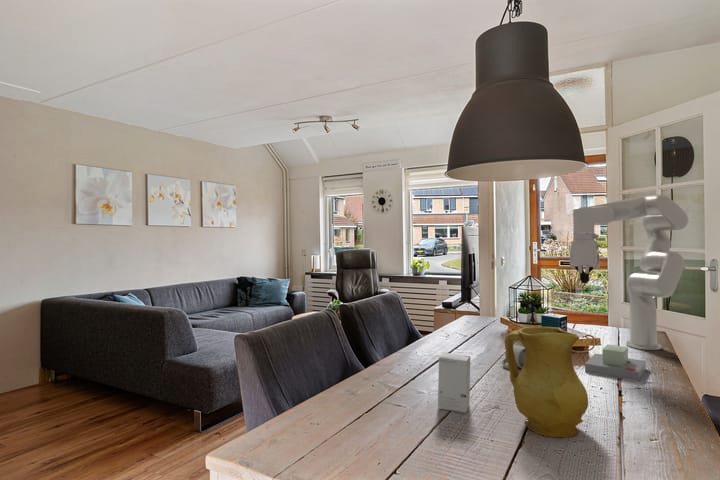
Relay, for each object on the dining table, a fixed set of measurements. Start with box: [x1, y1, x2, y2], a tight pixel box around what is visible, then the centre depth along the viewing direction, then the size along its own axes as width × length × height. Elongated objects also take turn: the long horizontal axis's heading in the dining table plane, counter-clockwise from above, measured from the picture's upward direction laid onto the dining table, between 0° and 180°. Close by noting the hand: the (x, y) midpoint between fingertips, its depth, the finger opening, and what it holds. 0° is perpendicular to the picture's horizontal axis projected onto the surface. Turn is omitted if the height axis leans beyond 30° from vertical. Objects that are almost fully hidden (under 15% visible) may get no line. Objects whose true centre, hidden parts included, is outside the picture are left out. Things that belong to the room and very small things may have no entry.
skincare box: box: [437, 352, 471, 414], centre depth 120 cm, size 8×6×15 cm
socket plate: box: [584, 353, 647, 382], centre depth 149 cm, size 16×16×4 cm
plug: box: [602, 344, 629, 367], centre depth 149 cm, size 8×7×8 cm
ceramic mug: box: [501, 344, 526, 370], centre depth 156 cm, size 11×8×8 cm
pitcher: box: [504, 325, 589, 438], centre depth 108 cm, size 17×19×25 cm
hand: (584, 282), depth 169 cm, fingers closed
